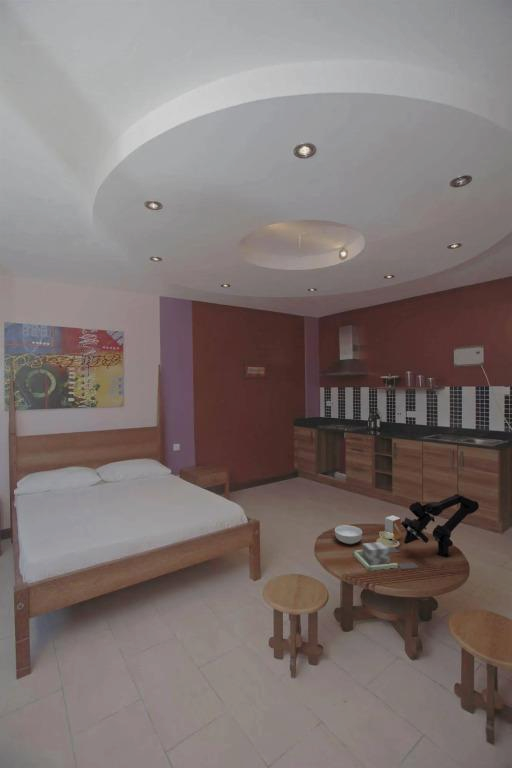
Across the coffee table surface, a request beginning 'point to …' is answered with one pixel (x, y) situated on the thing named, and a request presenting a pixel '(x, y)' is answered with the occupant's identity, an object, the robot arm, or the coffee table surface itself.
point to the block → (376, 553)
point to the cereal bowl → (348, 534)
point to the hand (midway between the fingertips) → (404, 543)
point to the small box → (393, 526)
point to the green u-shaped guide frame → (383, 566)
